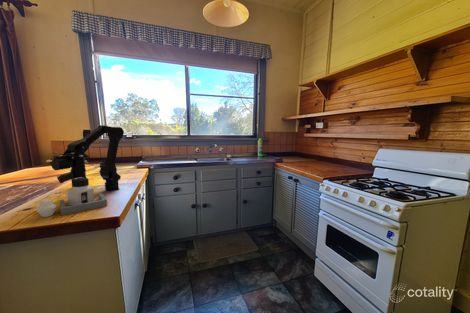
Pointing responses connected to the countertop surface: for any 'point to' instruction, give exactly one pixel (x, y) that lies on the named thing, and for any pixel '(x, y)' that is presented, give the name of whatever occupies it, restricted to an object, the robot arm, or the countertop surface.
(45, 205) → the white rounded lump
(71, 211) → the display bay
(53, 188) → the countertop surface
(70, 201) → the container
